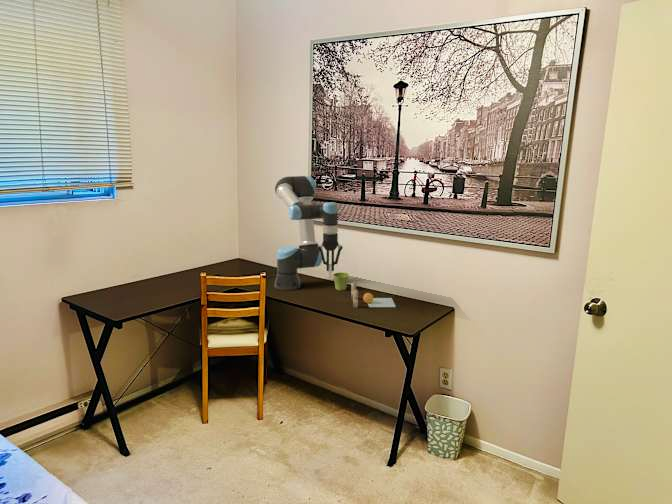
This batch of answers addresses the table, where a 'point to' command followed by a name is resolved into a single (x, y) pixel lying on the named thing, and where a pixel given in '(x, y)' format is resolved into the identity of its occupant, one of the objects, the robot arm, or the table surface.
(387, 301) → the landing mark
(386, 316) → the table surface
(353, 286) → the gate post
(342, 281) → the plant pot
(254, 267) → the table surface
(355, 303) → the gate post
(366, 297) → the ball
